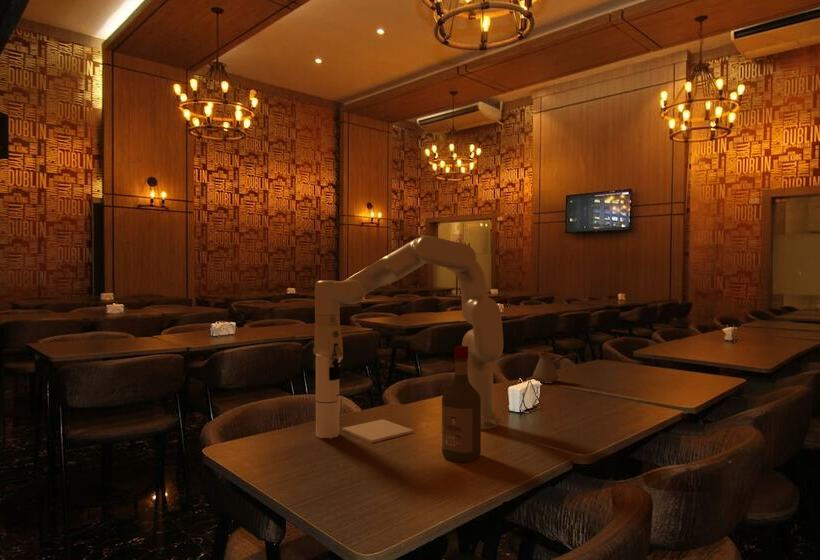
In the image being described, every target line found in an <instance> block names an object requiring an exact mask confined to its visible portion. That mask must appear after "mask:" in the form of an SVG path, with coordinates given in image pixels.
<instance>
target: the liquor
mask: <svg viewBox="0 0 820 560" xmlns="http://www.w3.org/2000/svg"><path fill="white" fill-rule="evenodd" d="M481 431H482V430H481V398H480V395H479V393H478V392H477V391H476V390H475V389H474V388H473V386H472V385H471V384H470V383H469V379H468V347H467V346H462V345H455V346H454V378H453V382H452V384H450V386H449V387H448V388H447V389H446V390H445V391H444V393H443V395H442V397H441V453H442V456H443V458H444V459H445V460H447V461H452V462H456V463H461V464H464V463H465V464H467V463H472V462H474V461H475V460H476V459H479V457H480V456H481V454H482V453H481V451H482V449H481V446H482V443H481V442H482V441H481V440H482V439H481V438H482V436H481V435H482V433H481Z"/></svg>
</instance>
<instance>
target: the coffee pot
mask: <svg viewBox="0 0 820 560" xmlns="http://www.w3.org/2000/svg"><path fill="white" fill-rule="evenodd" d="M576 355H577V356H579V354H578V353H577V352H573V353H572V352H571V353H569V354H566V355H563V356H560V357H559V358H554V359H552V358H553V356H554V354H553V353H549V352H539V353H538V356H539V360H538V362H537V364H536V366H535V369H534V371H533V374H532V377H533V379H534V378H535V379H537V380H539V381H540V382H542V383H541V384H545V382H554V381H555V382H556V381H558V379H559V377H560V376H559V374H558V371H557V369H556V367H555V363H554V362H557V361H560V360H564V359H567V358H568V359H569V358H570V357H573V356H575V357H577V356H576ZM535 379H534V380H535ZM537 380H536V381H537ZM543 382H544V383H543ZM555 382H554V383H555Z"/></svg>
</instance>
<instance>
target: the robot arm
mask: <svg viewBox="0 0 820 560" xmlns="http://www.w3.org/2000/svg"><path fill="white" fill-rule="evenodd" d="M425 264H431V265H434V266H439V267H443V268H445V269H446V270H449V271H451V272H452V273H453V274H454V275H455V276H456V277H457V280H458V282H459V283H458V284H459V288H460V298H461V299H460V300H461V311H462V313H461V314H462V317H463V319H464V320H465V321H466V323H469V324H470V325H472V329H470V330H468V331H467V332H466V333H465V334H464V336H463V338H462V342H461V346H467V347H468V379H469V383H470V384H471V385H472V386H473V388H474V389H475V390H476V391H477V392H478V393H479V395H480V398H481V431H482V430H483V431H484V430H491V429H494V428H497V427H498V426H499V424H500V423H501V422H502V418H499V417H496V412H495V411H494V365H493V362H496V361H497V360H498V359H500V357H501V356H502V354H503V352H504V351H503V350H504V331H503V320H502V312H501V309H500V307H499V304H498V303H497V301H495V300H494V299H492V298H491V297H489V295H488V290H487V289H488V288H487V283H486V277H485V273H484V270H483V269H482V266H481V265H480V263H479V262H478V261H477V254H476V251H475V250H474V249H473V247H471V245H468V244H465V243H462V242H458V241H453V240H449V239H445V238H441V237H436V236H433V235H423V236H419V237H417V238H415V239H413V240H411V241H409V242H407V243H406V244H404V245H403V246H400V247H399V248H397V249H395V250H393V251H392V252H390V253H389V254H387V255H385V256H384V257H382V258H380V259H379V260H377V261H376V262H374V263H373V264H370V265H369V266H367V267H365V268H364V269H362V270H360V271H359V272H357V273H354V274H353V275H352V276H350V277H348V278H347V279H345V280H341V281H338V280H334V279H329V280H328V279H327V280H325V279H324V280H323V279H322V280H318V281H316V282H315V284H314V326H315V328H314V337H313V339H314V340H313V342H314V343H313V344H314V345H313V348H312V353H313V357H314V362H315V364H316V354H320V355H324V356H327V358H329V362H330V366H331V367H329V380H338V379H339V380H340V367H341V363H342V360H343V358H344V347H343V333H342V327H341V325H340V324H341V320H340V319H341V316H340V311H341V309H340V308H341V307H340V306H341V305H340V303H341V304H348V305H356V304H357V305H358V304H359V303H360V302H362V301H363V300H364V299H365V297H366V295H367V294H369V293H371V292H372V291H374V290H376V289H378V288H380V287H383V286H386V285H389V284H392V283H395V282H397V281H398V280H401V279H402V278H404V277H406V276H407V275H409V274H410V273H412V272H414V271H415V270H417V269H419V268H421V267H423V266H424V265H425ZM332 355H336V356H332ZM333 359H335V360H334V362H333Z"/></svg>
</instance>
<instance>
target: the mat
mask: <svg viewBox="0 0 820 560" xmlns="http://www.w3.org/2000/svg"><path fill="white" fill-rule="evenodd" d="M342 430H343V432H345V431H346V432H345V433H347V432H348V433H347V434H349V433H350V434H349V435H351V436H355V437H357V438H359V439H361V440H363V441H366V442H367V443H368V442H369V443H371V444H373V443H378V442H382V441H385V440H389V439H393V438H397V437H401V436H407V435H408V434H409V435H410V434H413V433H415V432H414V429H412V428H408V427H406V426H404V425H400V424H398V423H395V422H392V421H389V420H386V419H383V418H382V419H379V420H374V421H369V422H365V423H359V424H355V425H350V426H345V427H342Z"/></svg>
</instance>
